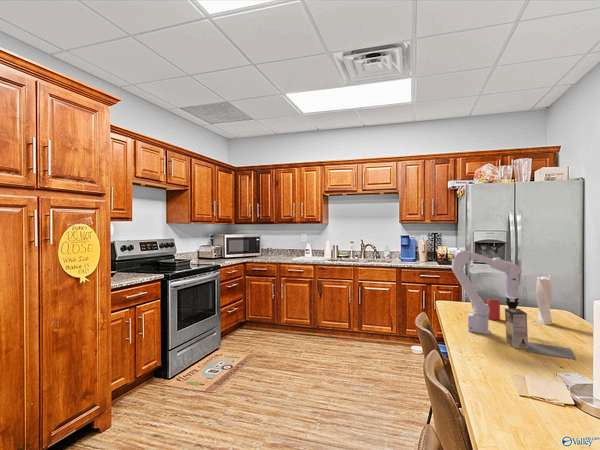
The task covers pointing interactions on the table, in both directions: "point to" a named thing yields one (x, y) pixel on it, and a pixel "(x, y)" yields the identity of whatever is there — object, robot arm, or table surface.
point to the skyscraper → (544, 300)
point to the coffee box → (516, 328)
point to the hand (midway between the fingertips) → (512, 313)
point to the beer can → (494, 308)
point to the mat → (550, 350)
